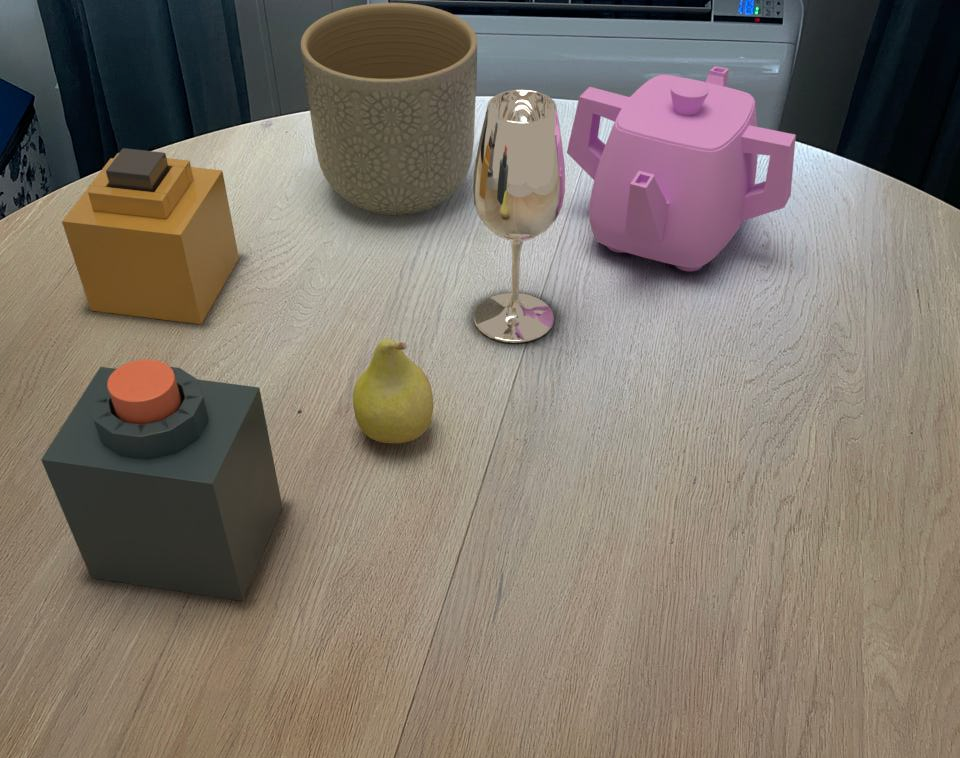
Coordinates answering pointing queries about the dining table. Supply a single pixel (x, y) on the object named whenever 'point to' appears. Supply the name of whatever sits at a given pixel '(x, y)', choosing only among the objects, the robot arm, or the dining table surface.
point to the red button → (144, 391)
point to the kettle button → (137, 170)
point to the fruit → (393, 396)
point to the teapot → (678, 167)
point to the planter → (392, 103)
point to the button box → (169, 488)
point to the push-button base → (154, 244)
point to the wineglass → (518, 200)
